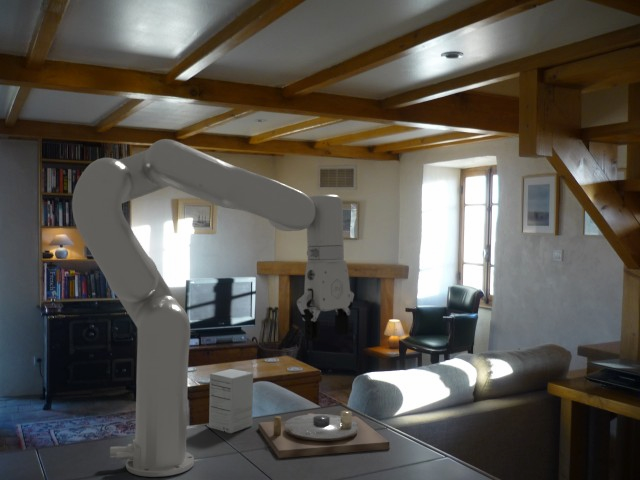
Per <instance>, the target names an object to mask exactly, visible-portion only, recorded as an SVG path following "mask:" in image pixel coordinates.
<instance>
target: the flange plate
mask: <svg viewBox="0 0 640 480" xmlns="http://www.w3.org/2000/svg"><path fill="white" fill-rule="evenodd" d="M352 416H353V412H352V411H351V410H341V411H340V415H336V414H326V413H325V414H322V413H312V412H310V413H309V412H308V413H307V414H301V415H298V416H294V417H291V418H289V419H288V420H285V421H286V423H285V431H286V432H287V433H288V434H289V435H291V436H294V437H297V438H301V439H306V440H313V441H335V440H342V439H346V438H350V437H352V436H354V435H355V434H356V433H357V432H358V424H357V423H356V422H355V421H353V420H352Z"/></svg>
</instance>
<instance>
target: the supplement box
mask: <svg viewBox="0 0 640 480" xmlns="http://www.w3.org/2000/svg"><path fill="white" fill-rule="evenodd" d="M253 393H254V372H251V371H250V372H249V371H244V370H240V369H239V370H238V369H234V368H229V369H224V370H220V371H217V372H212V373H211V372H210V373H209V402H208V403H209V406H208V407H209V409H208V410H209V411H208V412H209V415H208V419H209V420H208V427H209V428H211V429H213V430H217V431H220V432H224V431H225V432H224V433H228V432H229V433H228V434H234V433H235V432H239V431H241V430H244V429H247V428H251V427H253V404H254V403H253V401H254V400H253V399H254V397H253V396H254V394H253Z"/></svg>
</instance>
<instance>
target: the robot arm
mask: <svg viewBox="0 0 640 480" xmlns="http://www.w3.org/2000/svg"><path fill="white" fill-rule="evenodd" d="M168 187H171V188H172V189H176V190H177V191H181V192H183V193H185V194H188V195H191V196H193V197H195V198H198V199H200V200H202V201H205V202H208V203H210V204H212V205H215V206H217V207H221V208H225V209H232V210H239V211H243V212H246V213H250V214H253V215H255V216H259V217H261V218H264V219H266V220H268V222H269V223H270V225H271V226H272V227H273V228H275V229H276V230H278V231H283V232H298V231H304V230H305V229H306V242H307V245H306V246H307V248H306V249H307V250H306V255H307V256H306V257H307V262H306V266H305V267H306V268H305V274H304V287H303V288H304V292H303V293H304V294H302V296H301V297H299V298H298V299H297V300H296V305H297V308H298V310H299V311H298V312H299V315H300V316H301V318H302V321H304V333H305V334H304V336H305V340H306V341H310V342H319V341H320V328H319V327H320V321H318V320H317V319H318V317H319V315H320V314H321V312H330V311H334V310H335V312H336V314H335V315H334V323H335V325H334V326H335V327H334V328H335V331H334V332H335V334H338V335H349V331H350V329H349V327H350V326H349V325H350V323H349V321H350V320H349V319H350V318H349V316H350V315H351V309H352V308H353V300H354V297H355V293H354V292H353V291H352V290H351V287H350V277H349V269H348V265H347V261H346V260H345V253H344V250H345V247H344V246H345V245H344V242H345V241H344V209H343V208H344V206H343V200H342V197H340V196H339V195H337V194H315V195H311V196H308V195H307V194H306V193H304V192H303V191H300V190H298V189H295V188H294V187H292V186H289V185H287V184H284V183H282V182H280V181H277V180H275V179H272V178H269V177H267V176H264V175H262V174H258V173H255V172H251V171H249V170H247V169H245V168H242V167H239V166H236V165H233V164H230V163H228V162H226V161H223V160H222V159H219V158H216V157H214V156H212V155H210V154H207V153H205V152H202V151H200V150H198V149H196V148H193V147H192V146H188V145H186V144H184V143H182V142H179V141H176V140H174V139H168V138H164V139H163V138H162V139H159V140H157V141H155V142H153V143H152V144H151V145H150V146H149V147H148V149H146V150H143V151H141V152H138V153H135V154H132V155H130V156H126V157H122V158H119V159H116V158H112V157H101V158H98V159H96V160H94V161H92V162H91V163H89V164H88V166H86V168H85V169H84V170H83V172H82V173H81V175H80V176H79V178H78V180H77V182H76V184H75V186H74V190H73V194H72V202H71V207H72V208H71V209H72V216H73V221H74V224H75V226H76V229H77V231H78V234H79V235H80V237H81V239H82V241H83V242H84V244H85V246H86V247H87V249H88V250H89V252H90V254H91V256H92V259H93V260H94V261H95V263H96V264H97V266H98V267H99V269H100V271H101V272H102V274H103V276H104V278H105V280H106V281H107V285H108V287H109V289H110V290H111V292H112V293H113V294H114V295H115V296H116V297H117V298H118V299H119V302H120V303H121V304H122V306H123V308H124V310H125V311H126V313H127V314H128V316H129V317H130V319H131V320H132V322H133V323H134V325H135V327H136V329H137V346H136V347H137V348H136V349H137V354H136V355H137V356H136V380H135V381H136V391H135V392H136V395H135V396H136V397H135V400H136V401H135V432H134V433H135V435H134V437H135V438H133V440H132V442H133V443H128V444H127V445H125V446H121V445H119V446H117V445H116V446H110V448H109V458H116V461H121V460H122V461H123V460H126V462H125V467H126V470H127V471H128V472H129V473H130V474H132V475H133V474H134V475H135V476H141V477H145V478H146V477H149V478H158V477H159V478H160V477H161V478H162V477H169V476H175V475H179V474H182V473H185V472H186V471H189V470H190V469H191V468H192V467H193V466H194V465H195V457H194V455H193V454H192V453H190V452H188V451H187V427H188V426H187V425H188V424H187V422H188V381H189V380H188V379H189V377H188V374H189V355H190V353H189V352H190V345H191V344H190V343H191V323H190V318H189V316H188V314H187V312H186V310H185V309H184V307H183V306H181V305H180V303H179V302H178V301H177V299H176V297H175V296H174V294H173V293H172V291H171V289H170V287H169V286H168V285H167V283H166V281H165V279H164V277H163V276H162V275H161V273H160V271H159V269H158V267H157V265H156V263H155V261H154V260H153V259H152V257H150V256H149V255H148V254H147V252H146V251H145V249H144V247H143V245H142V244H141V242H139V240H138V238H137V236H136V235H135V232H134V231H133V228H132V227H131V226H130V223H128V221H127V218H126V217H125V215H124V212H123V207H122V206H123V204H124V203H126V202H127V203H128V202H129V201H132V200H134V199H138V198H141V197H144V196H146V195H149V194H152V193H156V192H158V191H160V190H162V189H163V190H164V189H166V188H168Z"/></svg>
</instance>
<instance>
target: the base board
mask: <svg viewBox="0 0 640 480" xmlns="http://www.w3.org/2000/svg"><path fill="white" fill-rule="evenodd" d="M352 420H353V421H355V422H356V423H357V424H358V432H357V433H356V434H355V435H354V436H352V437H350V438H346V439H342V440H335V441H313V440H306V439H301V438H297V437H294V436H291V435H289V434H288V433H287V432H286V431H285V423H286V421H287V420H282V416H278V415H276V416H274V417H273V421H261V422H258V430H259V432H260V433H261V434H262V436H263V437H264V439H265V440H266V442H267V444H268V445H269V447H270V448H271V449H272V450H273V451H274V453H275V454H276V456H277V457H278V459H281V458H282V459H283V458H297V457H308V456H320V455H321V456H323V455H333V454H334V455H335V454H342V453H343V454H344V453H346V454H347V453H355V452H357V453H358V452H370V451H379V450H380V451H381V450H382V451H383V450H390V441H389V440H388V439H386V438H385V437H384V436H382V435H381V434H380V433H378V432H377V431H376V430H375V429H373V428H372V427H371V426H370V425H369V424H367V423H366V422H364V421H363V420H362V419H361V418H359V417H358V416H357V415H356V416H355V415H354V416H353V415H352Z"/></svg>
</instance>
